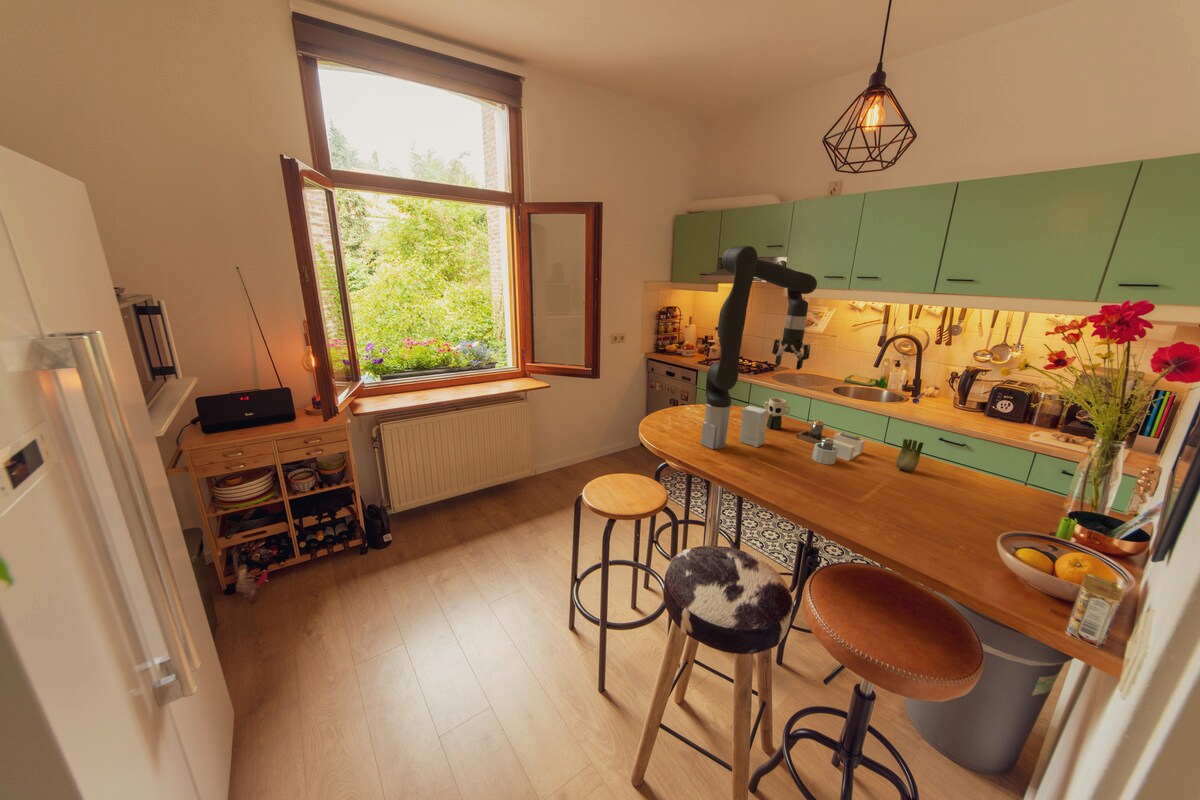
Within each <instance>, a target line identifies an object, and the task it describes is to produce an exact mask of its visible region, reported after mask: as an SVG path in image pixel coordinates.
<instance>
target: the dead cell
mask: <svg viewBox="0 0 1200 800" xmlns="http://www.w3.org/2000/svg"><path fill="white" fill-rule="evenodd" d="M829 438H830V437H829ZM829 438H822V440H821V444H820V448H821V449H824V450H829V451H830V450H832V447H833V443H834V441H833V440H832V439H833V438H832V439H829Z"/></svg>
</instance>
